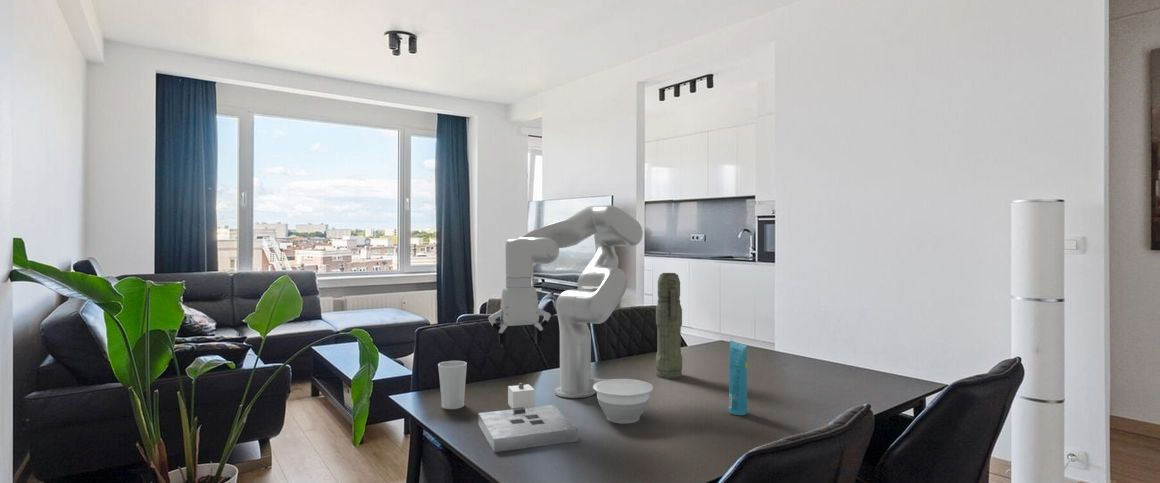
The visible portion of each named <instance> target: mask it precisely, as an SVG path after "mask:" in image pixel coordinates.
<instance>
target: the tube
mask: <svg viewBox="0 0 1160 483" xmlns="http://www.w3.org/2000/svg"><path fill="white" fill-rule="evenodd" d="M747 347H748V345H747V344H744V343H740V342H737V341H734V340H731V339H729V374H728V375H729V376H728V377H729V380H728V413H729V414H731V415H734V416H746V415H747V414H748V373H747V372H748V359H747V355H748V354H747V351H748V350H747Z"/></svg>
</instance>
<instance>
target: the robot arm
mask: <svg viewBox="0 0 1160 483" xmlns="http://www.w3.org/2000/svg"><path fill="white" fill-rule="evenodd" d="M643 234H644V232H643V227H642V226H641V224H640V223H639V221H638V220H637V219H635V218H634V217H633V216H631V215H629V214H628V213H627V212H625V211H624V210H622V209H621V208H619V207H617V206H614V205H610V204H609V205H589V206H586V207H584V208H582V209H581V210H579V211H577V212H576V213H573V214H572V215H570V216H568V217H566V218H564V219H562V220H558V221H555V222H553V223H550V224H547V225H544V226H540V227H538V228H534V229H532V230H531V231H528V232H526V233H524V234H522V235H521V236H519V237H518V238H509V239H507V240H506V242H505V288H502V292H501V293H502V294H501V301H500V309H499V310H498V311H496V312H494V313H493V314H491V315H489V316H488V318H487V319H488V322H490V324H491V326H492V328H494V329H495V330H496V331H497V332H498V344H499V345H500V347H501V348H502V349H504V348H506V333H505V330H506V329H507V328H508V326H509V327H510V326H527V325H528V326H529V325H533V326H534V327H535V329H534V344H535V345H536V346H540V345H541V342H542V338H543V337H542V331H543V330H544V328H545V327H546V326H547V324H548V322H549V320H550V318H551V317H552V315H551V313H550V312H547V311H546V310H543V309H541V308H540V306H539V299H538V293H537V288H536V287H534V286H535V285H536V284H539V278H535V277H534V264H535V265H537V264H538V265H548V264H551V263H553V262H555V261H556V260H557V258H558V257H559V255H560V249H565V248H569V247H573V246H576V245H578V244H580V243H582V242H583V241H585V240H587V239H588V238H589V237H591V236H593V237H594V238H593V239H594V244H595V246H594V247H595V253H594V256H592V258H591V260H590V261H589V263H588V264H587V266H586V267H585V268H584V269H583V271H582V272H581V273H580V275H579V277H578V279H577V284H576V285H577V289H567V290H564V291H562V292H561V293H559V295H558V297H557V298H556V303H555V310H556V315H557V320H558V325H559V386H557V387H556V388H554V394H555V395H557V397H560V398H561V397H562V398H565V399H566V398H567V399H584V398H585V399H586V398H588V397H592V396H595V394H597V391H596V390H594V388H593V386H594V384H595V383H597V382H600V381H603V380H606V378H599V377H592V365H591V364H592V363H591V362H592V357H591V356H592V355H591V354H592V353H591V352H592V344H591V343H592V342H591V341H592V340H591V339H592V335H591V330H590V328H589V326H588V324H593V325H594V324H595V325H596V324H597V325H598V324H599V325H600V324H602V323H605V322H606V321H607V320H608V319H609V317H610V316H611V315H612V314H613V312H614V311H615V309H616V307H617V306H618V304H620V301H621V300H622V299H623V298H624V296H625V293H626V290H627V286H628V279H627V275H626V274H625V271H624V270H622V269H620V268H619V262H620V261H619V258H618V255H617V253H616V250H615V247H633V246H637V245H638V244H640V242H641V241H642V239H643V236H644V235H643ZM540 315H542V316H543V319H542V320H541V321H540V322H539V320H540ZM498 318H499V319H500V322H501V323H500V325H499V324H497V322H496V319H498Z"/></svg>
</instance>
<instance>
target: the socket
mask: <svg viewBox="0 0 1160 483" xmlns="http://www.w3.org/2000/svg"><path fill="white" fill-rule="evenodd" d="M478 426H479V429H480V430H481V431H482V433H483V435H484V438H485V439H486V441H487V442H488V444H489V446H490V448H491V449H492V452H494V453H500V452H506V451H507V452H508V451H513V450H521V449H529V448H535V447H536V448H537V447H544V446H550V445H560V444H564V443H565V444H567V443H573V442H578V441H579V439H578V438H579V432H578V431H579V429H578V428H577V426H576V425H575V424H574V423H573V422H572V421H570V419H568V418H567V416H565V415H564V414H563V413H562V412H561V411H560V410H559V409H558V408H557V407H556V406H555V405H554V404H550V405H542V406H541V405H540V406H535V407H530V408H524V407H518V408H512V410H511V409H504V410H503V409H502V410H496V411H486V412H485V411H483V412H478Z"/></svg>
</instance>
